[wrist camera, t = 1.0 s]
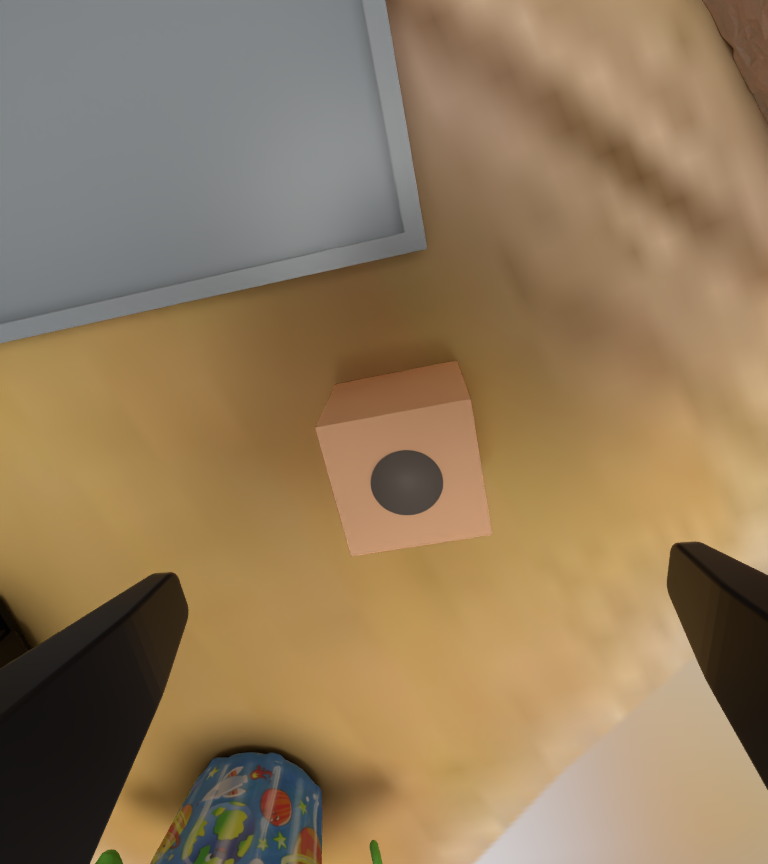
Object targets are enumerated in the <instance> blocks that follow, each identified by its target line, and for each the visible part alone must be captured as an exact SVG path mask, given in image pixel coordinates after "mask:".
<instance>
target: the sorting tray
mask: <svg viewBox="0 0 768 864" xmlns="http://www.w3.org/2000/svg"><path fill="white" fill-rule="evenodd" d="M424 249H427V244H426V238H425V232H424V226H423V220H422V214H421V208H420V202H419V196H418V190H417V185H416V179H415V173H414V167H413V161H412V155H411V149H410V143H409V137H408V131H407V126H406V120H405V114H404V108H403V102H402V96H401V90H400V84H399V78H398V72H397V67H396V61H395V55H394V49H393V43H392V37H391V31H390V25H389V19H388V13H387V8H386V2H385V0H0V343H4V342H9V341H13V340H18V339H22V338H27V337H31V336H36V335H40V334H45V333H49V332H54V331H58V330H63V329H67V328H72V327H76V326H81V325H85V324H90V323H94V322H99V321H103V320H108V319H112V318H117V317H121V316H126V315H131V314H135V313H140V312H144V311H149V310H153V309H158V308H162V307H167V306H171V305H176V304H180V303H185V302H189V301H194V300H198V299H203V298H207V297H212V296H216V295H221V294H225V293H230V292H234V291H239V290H243V289H248V288H252V287H257V286H262V285H266V284H271V283H275V282H280V281H284V280H289V279H293V278H298V277H302V276H307V275H311V274H316V273H320V272H325V271H329V270H334V269H338V268H343V267H347V266H352V265H356V264H361V263H365V262H370V261H374V260H379V259H384V258H388V257H393V256H397V255H402V254H406V253H411V252H415V251H420V250H424Z"/></svg>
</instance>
